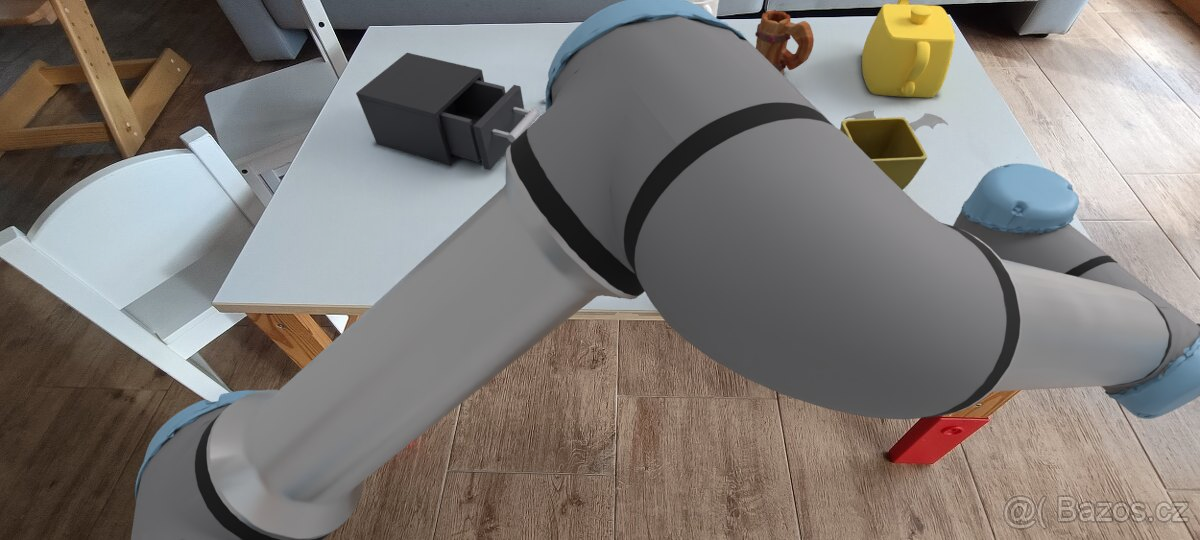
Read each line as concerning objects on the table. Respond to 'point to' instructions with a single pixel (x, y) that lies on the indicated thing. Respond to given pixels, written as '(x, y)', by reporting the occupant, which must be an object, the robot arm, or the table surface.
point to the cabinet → (415, 104)
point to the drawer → (485, 122)
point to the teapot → (908, 50)
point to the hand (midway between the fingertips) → (678, 216)
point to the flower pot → (888, 146)
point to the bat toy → (923, 121)
